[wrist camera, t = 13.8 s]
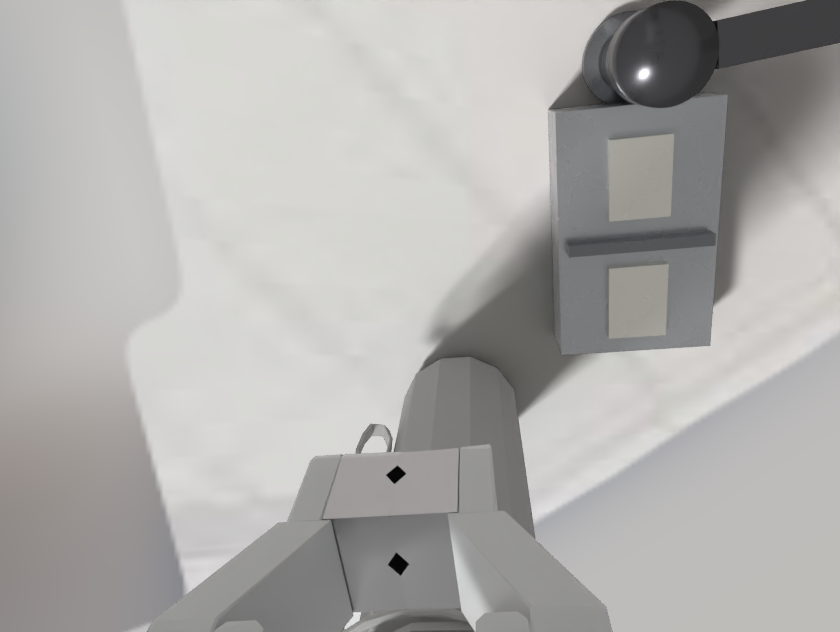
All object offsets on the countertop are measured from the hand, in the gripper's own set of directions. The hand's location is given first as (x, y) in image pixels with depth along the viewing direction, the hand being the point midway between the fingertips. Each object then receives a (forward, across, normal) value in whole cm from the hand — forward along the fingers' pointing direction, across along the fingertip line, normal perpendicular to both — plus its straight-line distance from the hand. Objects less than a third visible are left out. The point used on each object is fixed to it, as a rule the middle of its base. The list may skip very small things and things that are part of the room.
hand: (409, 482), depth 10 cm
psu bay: (+26, -10, +4) cm, 28 cm away
